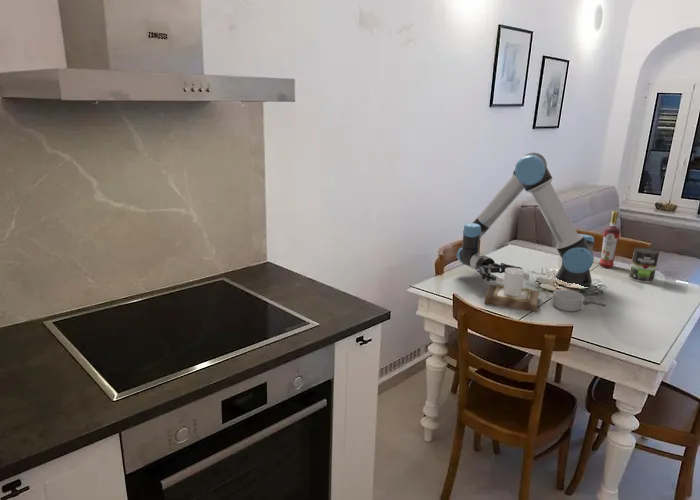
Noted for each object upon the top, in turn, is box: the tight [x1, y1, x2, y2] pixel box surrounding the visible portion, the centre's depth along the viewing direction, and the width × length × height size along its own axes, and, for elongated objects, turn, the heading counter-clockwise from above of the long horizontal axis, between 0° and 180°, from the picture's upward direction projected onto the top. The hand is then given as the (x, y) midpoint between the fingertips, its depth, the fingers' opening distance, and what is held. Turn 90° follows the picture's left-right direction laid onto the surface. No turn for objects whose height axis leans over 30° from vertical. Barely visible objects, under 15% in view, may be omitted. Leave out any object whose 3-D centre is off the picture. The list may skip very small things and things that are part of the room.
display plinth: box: [484, 283, 540, 313], centre depth 212 cm, size 20×16×4 cm
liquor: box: [598, 210, 621, 269], centre depth 254 cm, size 7×7×28 cm
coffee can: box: [628, 247, 660, 284], centre depth 238 cm, size 10×10×14 cm
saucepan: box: [552, 288, 607, 312], centre depth 203 cm, size 12×20×6 cm, turn 45°
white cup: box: [503, 268, 526, 296], centre depth 210 cm, size 8×8×10 cm
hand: (515, 279), depth 209 cm, fingers open, 13 cm apart
